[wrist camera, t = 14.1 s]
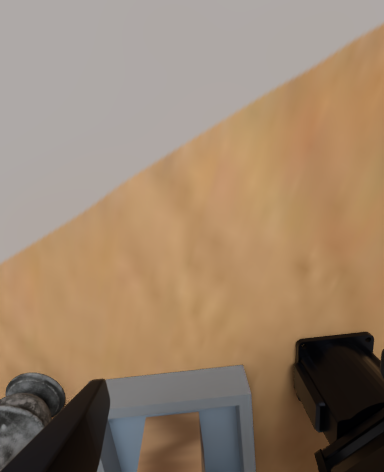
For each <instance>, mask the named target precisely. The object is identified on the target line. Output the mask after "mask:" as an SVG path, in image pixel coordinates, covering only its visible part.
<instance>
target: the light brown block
mask: <svg viewBox="0 0 384 472" xmlns="http://www.w3.org/2000/svg"><path fill="white" fill-rule="evenodd" d="M137 472H205V459H204V447H203V440H202V432H201V425H200V418H199V412H191V413H182V414H172V415H163V416H154V417H146V419H145V426H144V432H143V438H142V444H141V450H140V456H139V462H138V469H137Z"/></svg>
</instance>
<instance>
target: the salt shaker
mask: <svg viewBox="0 0 384 472" xmlns="http://www.w3.org/2000/svg"><path fill="white" fill-rule="evenodd" d="M64 404H65V393H64V391H63V389H62V387H61V386H60V385H59V384H58V382H56V381H55V380H54V379H52V378H51V377H48V376H46V375H44V374H39V373H25V374H21V375H19V376H17V377H15V378H14V379H13V380H12V381H10V383H9V384H8V386H7V388H6V397H4V398H2V399H0V471H1V470H2V469H3V468H4V467H5V466H6V465H7V464H8V463H9V462H10V461H11V460H12V459H13V458H14V457H15V456H16V455H17V454H18V453H19V452H20V451H21V450H22V449H23V448H24V447H25V446H26V445H27V444H28V443H29V442H30V441H31V440H32V439H33V438H34V437H35V436H36V435H37V434H38V433H39V432H40V431H41V430H42V429H43V428H44V427H45V426H46V425H47V424H48V423H49V422H50V421H51V417H53V416H55V415H57V414H58V413H59V412H60V411H61V410H62V408H63V406H64Z"/></svg>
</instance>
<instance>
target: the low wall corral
mask: <svg viewBox="0 0 384 472" xmlns="http://www.w3.org/2000/svg"><path fill="white" fill-rule="evenodd" d="M105 381H106V383H107V387H108V391H109V395H110V410H109V415H108V420H107V426H106V431H105V436H104V442H103V447H102V452H101V457H100V462H99V466H98V470H97V472H137V469H138V462H139V456H140V450H141V444H142V438H143V432H144V426H145V419H146V417H154V416H163V415H172V414H182V413H191V412H199V418H200V425H201V432H202V440H203V447H204V459H205V472H256V466H255V449H254V432H253V415H252V399H251V391H250V388H249V384H248V381H247V377H246V374H245V371H244V367H243V365H237V366H228V367H219V368H209V369H200V370H191V371H182V372H172V373H163V374H154V375H145V376H135V377H126V378H117V379H108V380H105ZM89 382H90V381H89Z"/></svg>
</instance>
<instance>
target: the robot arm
mask: <svg viewBox="0 0 384 472" xmlns="http://www.w3.org/2000/svg"><path fill="white" fill-rule="evenodd" d="M366 338H367V339H366ZM304 344H305V345H304ZM302 345H304V346H302ZM373 345H374V337H373V336H372V335H371V334H370V333H368V332H360V333H351V334H342V335H333V336H323V337H314V338H305V339H300V340H298V341H297V344H296V363H295V364H294V388H295V390H296V395H297V397H298V399H299V401H301V402H302V404H303V406H304V408H305V410H306V412H307V414H308V416H309V418H310V420H311V423H312V425H313V427H314V429H315V430H316V431H318V432H324V434H325V436H326V438H327V440H328V442H329V444H330V445H329V446H327V447H326V448H324V449H323V450H321V449H320V450H319V451H317V452H316V453H314V454H315V458H316V461H317V465H318V470H319V472H384V349H383V350H382V354H381V361H380V360H379V359H378V358H377V357H376V356H375V355H374V354H373ZM109 410H110V395H109V391H108V387H107V383H106V381H105V379H94V380H91V381H90V382H89V383H88V384H87V385H86V386H85V387H84V388H83V389H82V390H81V391H80V392H79V393H78V394H77V395H76V396H75V397H74V398H73V399H72V400H71V401H70V402H69V403H68V404H67V405H66V406H65V407H64V408H63V409H62V410H61V411H60V412H59V413H58V414H57V415H56V416H55V417H54V418H53V419H52V420H51V421H50V422H49V423H48V424H47V425H46V426H45V427H44V428H43V429H42V430H41V431H40V432H39V433H38V434H37V435H36V436H35V437H34V438H33V439H32V440H31V441H30V442H29V443H28V444H27V445H26V446H25V447H24V448H23V449H22V450H21V451H20V452H19V453H18V454H17V455H16V456H15V457H14V458H13V459H12V460H11V461H10V462H9V463H8V464H7V465H6V466H5V467H4V468H3V469H2V470H1V471H0V472H97V470H98V466H99V462H100V457H101V452H102V447H103V442H104V436H105V431H106V426H107V420H108V415H109Z"/></svg>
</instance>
